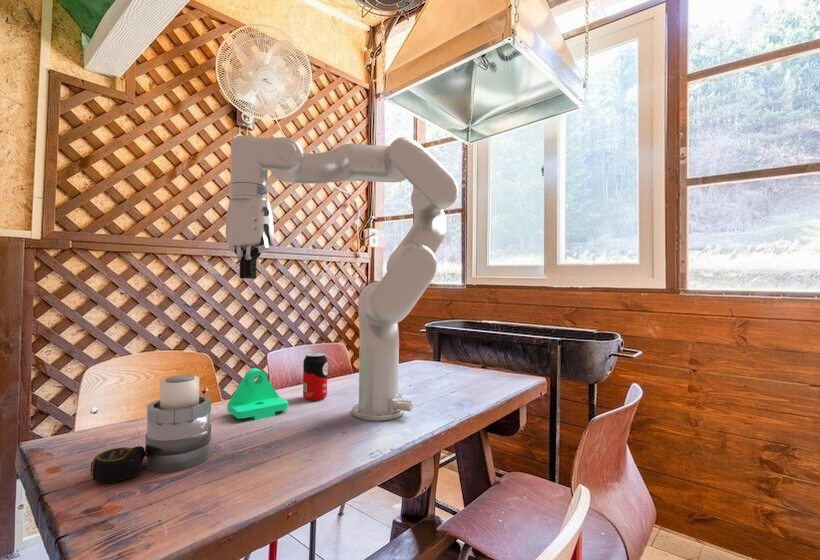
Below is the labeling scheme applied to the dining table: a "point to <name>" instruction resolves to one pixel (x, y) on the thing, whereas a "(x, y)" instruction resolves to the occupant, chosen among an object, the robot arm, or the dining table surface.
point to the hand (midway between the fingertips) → (248, 278)
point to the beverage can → (315, 376)
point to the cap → (179, 392)
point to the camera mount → (255, 397)
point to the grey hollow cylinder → (177, 436)
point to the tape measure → (117, 464)
